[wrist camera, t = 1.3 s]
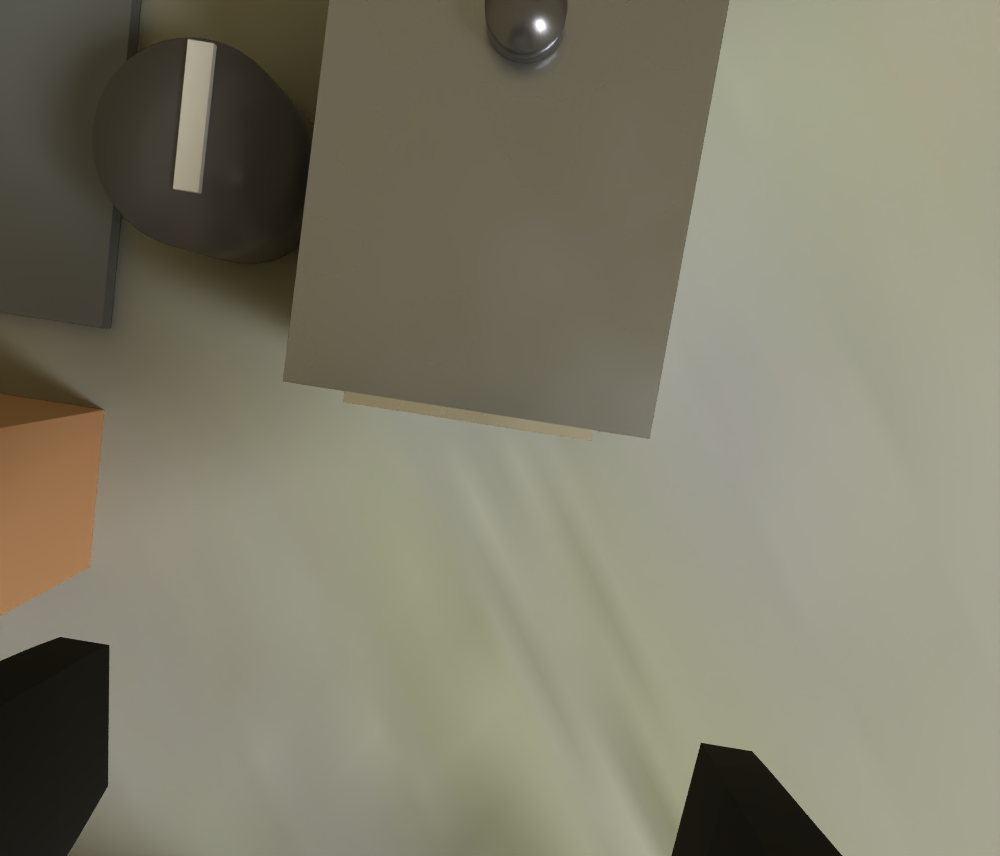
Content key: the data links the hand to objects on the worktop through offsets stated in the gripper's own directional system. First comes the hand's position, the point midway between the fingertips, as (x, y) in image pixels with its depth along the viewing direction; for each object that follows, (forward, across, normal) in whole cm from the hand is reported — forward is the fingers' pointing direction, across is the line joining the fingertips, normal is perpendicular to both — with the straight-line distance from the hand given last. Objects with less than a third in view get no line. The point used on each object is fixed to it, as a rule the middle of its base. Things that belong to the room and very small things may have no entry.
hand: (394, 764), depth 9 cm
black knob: (+11, +6, -6) cm, 14 cm away
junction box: (+11, 0, -6) cm, 13 cm away
